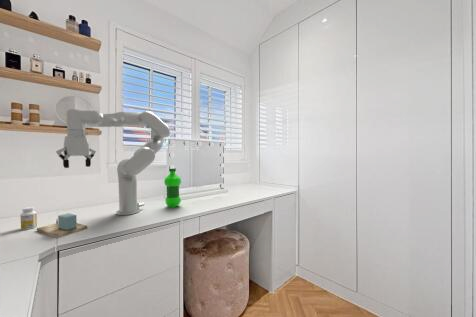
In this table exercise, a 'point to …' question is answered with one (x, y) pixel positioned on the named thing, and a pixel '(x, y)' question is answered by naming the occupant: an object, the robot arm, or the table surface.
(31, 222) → the supplement bottle
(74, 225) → the block
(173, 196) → the plastic bottle
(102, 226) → the table surface
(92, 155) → the robot arm
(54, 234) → the board
